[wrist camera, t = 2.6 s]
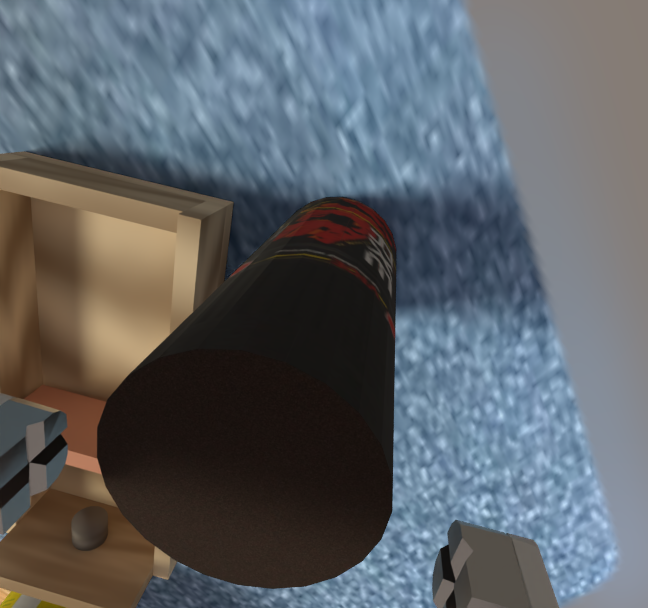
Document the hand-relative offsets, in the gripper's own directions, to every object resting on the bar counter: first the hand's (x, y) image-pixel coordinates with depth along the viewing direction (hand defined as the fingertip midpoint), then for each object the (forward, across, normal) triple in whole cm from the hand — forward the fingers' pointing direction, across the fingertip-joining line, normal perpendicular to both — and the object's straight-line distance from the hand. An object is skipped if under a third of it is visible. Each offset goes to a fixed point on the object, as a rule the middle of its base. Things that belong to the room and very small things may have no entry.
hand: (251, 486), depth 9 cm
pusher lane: (+15, +11, +9) cm, 21 cm away
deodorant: (+15, 0, -1) cm, 15 cm away
